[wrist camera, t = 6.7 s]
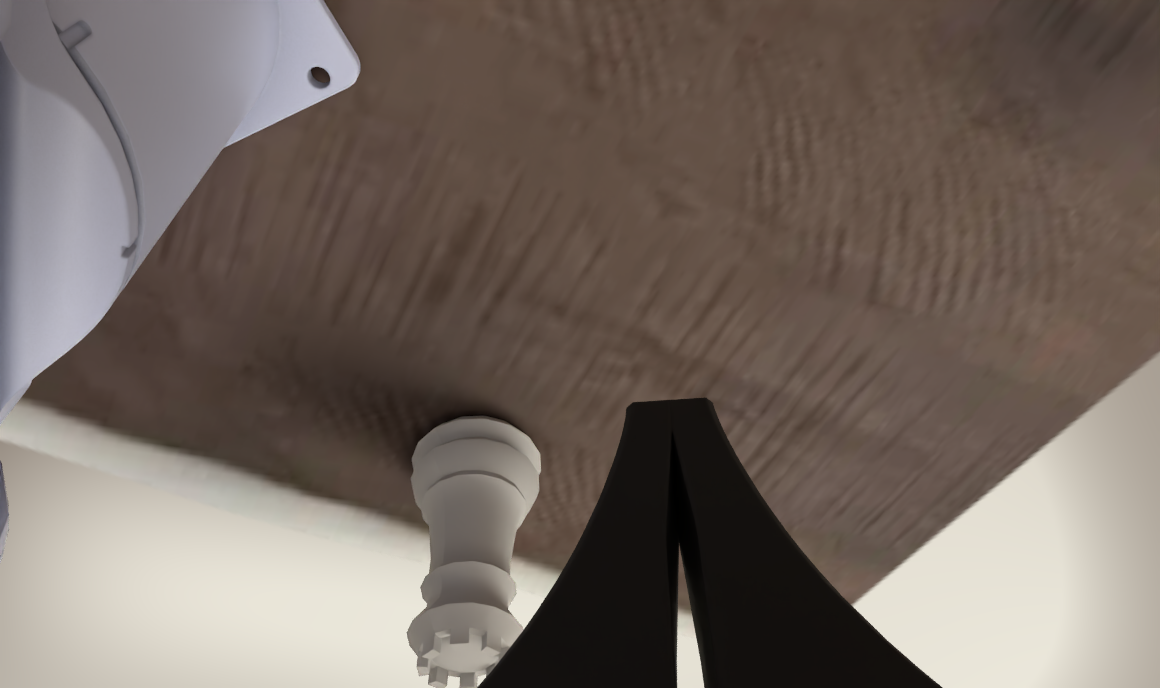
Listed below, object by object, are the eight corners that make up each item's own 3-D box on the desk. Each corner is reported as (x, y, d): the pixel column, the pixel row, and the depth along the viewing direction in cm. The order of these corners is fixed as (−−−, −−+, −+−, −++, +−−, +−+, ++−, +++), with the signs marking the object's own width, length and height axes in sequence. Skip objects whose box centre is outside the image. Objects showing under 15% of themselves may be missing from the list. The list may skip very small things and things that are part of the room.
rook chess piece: (385, 446, 27) (344, 662, 21) (488, 387, 26) (476, 600, 20) (468, 513, 30) (452, 725, 24) (566, 463, 28) (577, 675, 22)
